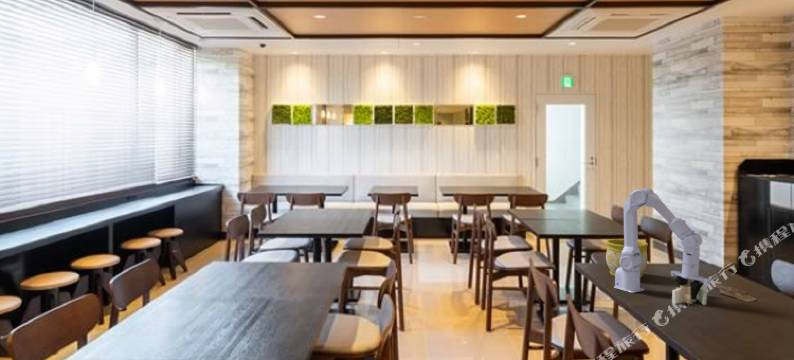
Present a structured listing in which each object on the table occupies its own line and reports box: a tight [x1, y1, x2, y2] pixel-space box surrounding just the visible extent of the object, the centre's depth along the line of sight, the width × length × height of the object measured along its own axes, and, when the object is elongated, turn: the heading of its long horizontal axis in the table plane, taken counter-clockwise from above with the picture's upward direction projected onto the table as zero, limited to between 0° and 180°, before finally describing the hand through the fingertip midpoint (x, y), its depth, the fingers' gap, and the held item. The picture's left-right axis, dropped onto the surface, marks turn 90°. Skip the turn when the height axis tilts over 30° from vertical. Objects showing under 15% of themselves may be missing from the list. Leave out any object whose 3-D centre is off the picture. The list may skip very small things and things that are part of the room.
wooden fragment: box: [714, 284, 758, 303], centre depth 211 cm, size 26×11×1 cm, turn 169°
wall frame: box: [671, 284, 708, 305], centre depth 202 cm, size 2×21×6 cm, turn 118°
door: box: [696, 288, 709, 306], centre depth 199 cm, size 2×10×5 cm, turn 164°
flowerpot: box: [605, 238, 649, 279], centre depth 239 cm, size 18×18×16 cm
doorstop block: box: [680, 283, 697, 304], centre depth 201 cm, size 4×4×6 cm
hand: (688, 297), depth 201 cm, fingers closed on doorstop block, 4 cm apart
